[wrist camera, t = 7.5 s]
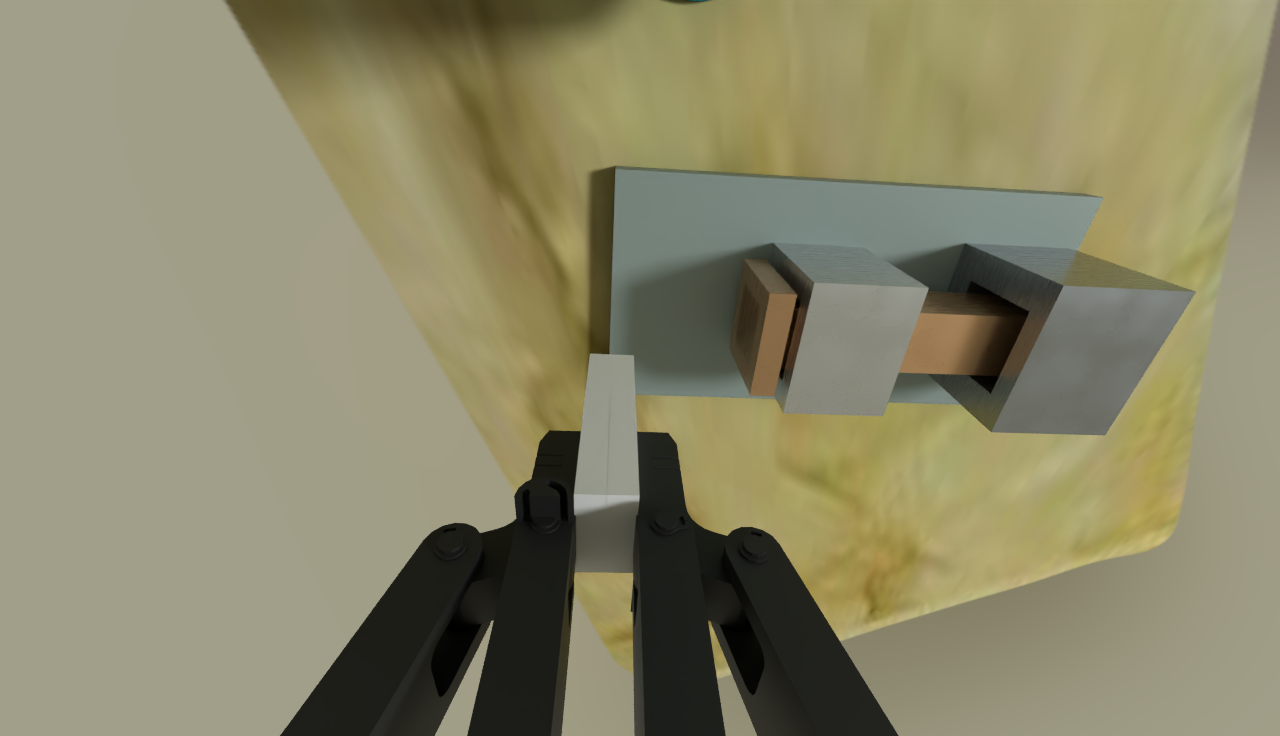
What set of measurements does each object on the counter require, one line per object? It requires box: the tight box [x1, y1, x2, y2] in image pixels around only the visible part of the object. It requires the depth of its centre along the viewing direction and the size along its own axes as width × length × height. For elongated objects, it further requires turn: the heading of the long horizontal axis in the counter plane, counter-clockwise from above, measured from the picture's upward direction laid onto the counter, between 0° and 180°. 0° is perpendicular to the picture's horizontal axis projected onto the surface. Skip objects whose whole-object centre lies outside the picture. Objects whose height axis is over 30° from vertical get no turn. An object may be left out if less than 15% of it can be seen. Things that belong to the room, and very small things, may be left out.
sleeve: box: [769, 243, 929, 416], centre depth 25 cm, size 7×5×6 cm
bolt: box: [729, 258, 1030, 396], centre depth 25 cm, size 5×15×5 cm, turn 87°
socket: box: [928, 243, 1196, 435], centre depth 26 cm, size 8×6×7 cm
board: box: [609, 166, 1103, 405], centre depth 29 cm, size 13×26×1 cm, turn 87°
